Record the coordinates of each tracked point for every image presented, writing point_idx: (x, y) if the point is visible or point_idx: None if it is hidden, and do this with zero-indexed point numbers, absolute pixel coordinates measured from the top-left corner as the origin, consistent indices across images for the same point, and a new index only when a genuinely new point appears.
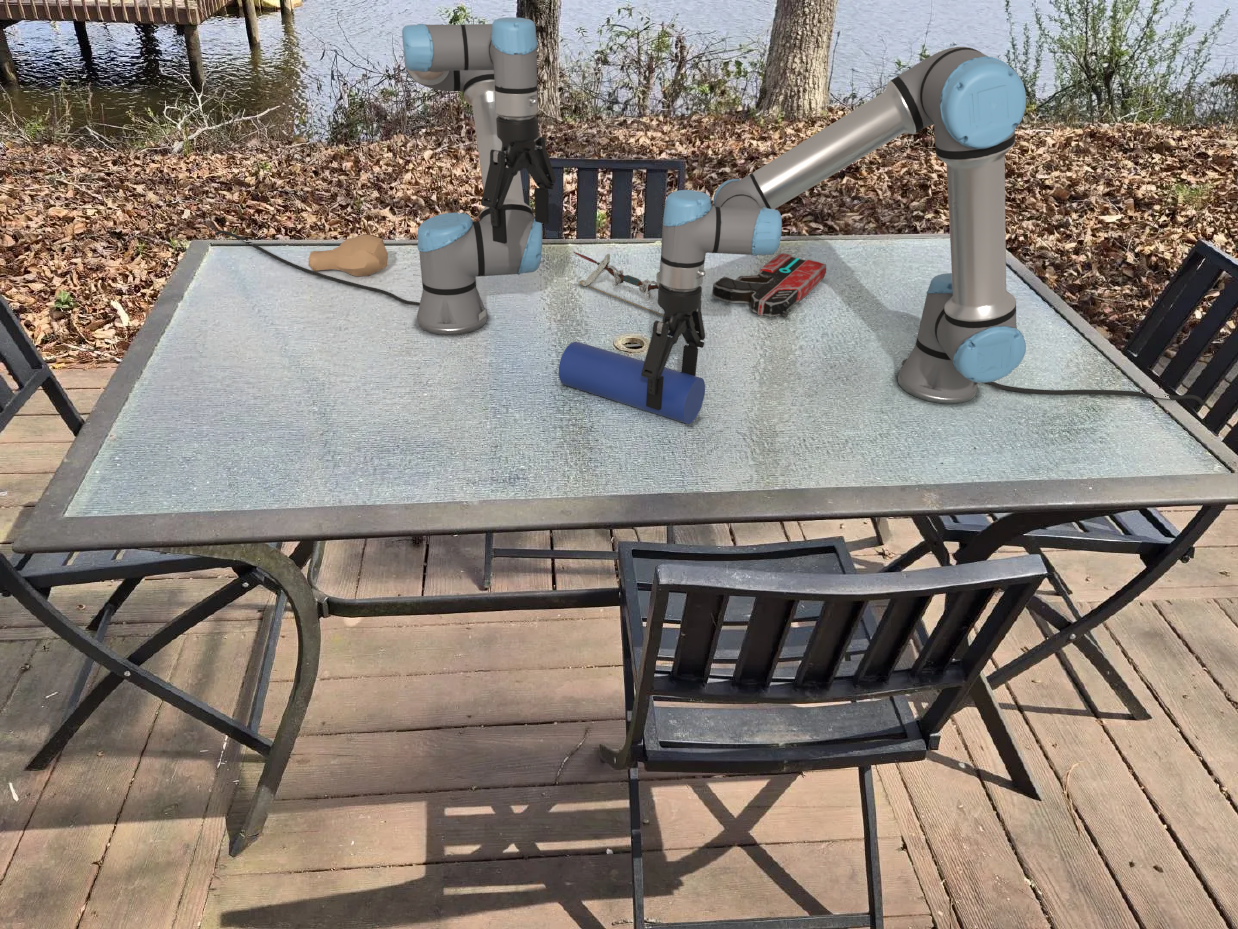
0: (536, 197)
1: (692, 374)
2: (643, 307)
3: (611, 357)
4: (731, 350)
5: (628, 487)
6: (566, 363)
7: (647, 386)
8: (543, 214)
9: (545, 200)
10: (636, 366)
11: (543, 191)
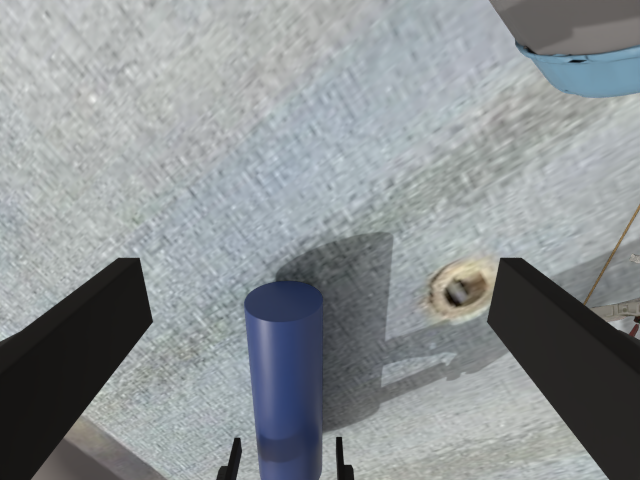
0: (597, 363)
1: (336, 458)
2: (621, 238)
3: (276, 394)
4: (505, 405)
5: (132, 440)
6: (247, 321)
7: (227, 467)
8: (514, 336)
9: (568, 422)
10: (275, 431)
11: (626, 477)
